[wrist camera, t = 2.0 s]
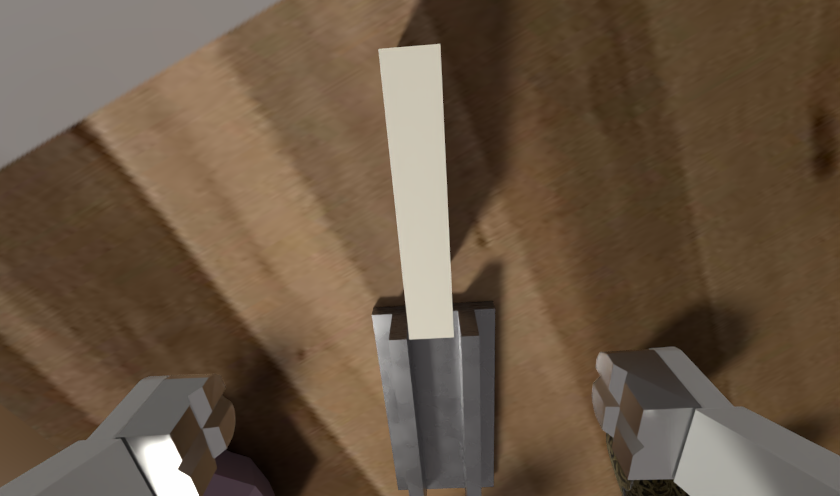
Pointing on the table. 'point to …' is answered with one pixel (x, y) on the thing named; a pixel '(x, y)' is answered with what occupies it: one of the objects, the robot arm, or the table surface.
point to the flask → (237, 477)
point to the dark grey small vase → (642, 481)
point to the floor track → (440, 399)
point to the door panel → (419, 184)
